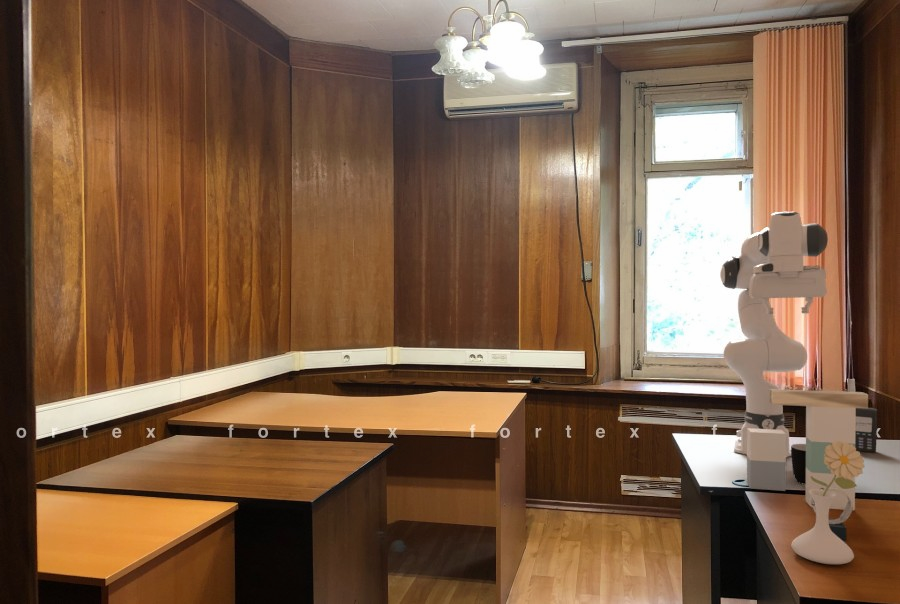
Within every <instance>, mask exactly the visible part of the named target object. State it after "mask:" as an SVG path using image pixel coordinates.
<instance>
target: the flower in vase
mask: <svg viewBox="0 0 900 604" xmlns="http://www.w3.org/2000/svg"><path fill="white" fill-rule="evenodd" d="M825 452H826V454H824V457H825V458H824V459H825V460H824V463H825V464H826V465H827V467H828V469H831V473H832V474H835V475H834V478H833V480H832V481H831V482H830V484H829V485H827V484H826V483H824V482H821V481H819V480H817V479H815V478H813V477H812V476H811V479H812V480H813V481H814V482H816V483H819V484H821V485H823V486H826V487H827V488H826V490H821V489H812V490H809V493H810V494H811V496H812V497H813V500H814V503H815V507H816V513H815V525H814V526H813V527H812V528H811V529H809V530H807V531H806V532H803V533H801V534H800V535H798V536H796V537H795V538H793V540H792V542H791V547H790V548H792V550H793V551H794V552H795V554H797V555H799V556H800V557H802V558H804V559H807V560H809V561H812V562H814V563H815V562H816V563H818V564H819V563H820V564H825V565H843V564H845V565H846V564H848V563H850V562H851V561H852V560H853V559H854V558H855V554H854V552H853V550H852V549H851V547H849V545H848V544H847V543H846V542H845V541H842V540H841V539H840V538H839V537H837V536H836V535H835V534H834V533H833V532H832V531H831V530H830V527H829V523H828V518H829V515H830V514H829V513H830V509H829V508H830V504H831V502H832V500H833V499H834V498H835V497H836V494H835V493H833V492H831V491H827V490H828V489H829V487H830V486H831V484H832V483H833V482H834V480H835V482H836V483H837V485H839V486H840V487H841V488H843V489H849V488H853V487H855V488H856V487H857V486H858V485H857V484H856V482H855V483H854V482H853V481H852V480H851V479H853V478H854V476H855V478H857V477H859V476H860V475H863V473H864V471H863V469H864V468H865V464H864V462H865V460H864V457H863V456H862V455H861V453H860V452H861V451H856V448H855V447H854V446H853V445H852V444H850V445H849V444H848V443H847V442H844V443H843V442H841V441H839V440H838V441H837V442H833V443H832V446H831V445H828V446H826V449H825ZM836 475H837V476H839V477H838V478H836ZM853 475H854V476H853ZM835 478H836V479H835Z"/></svg>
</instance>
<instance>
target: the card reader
mask: <svg viewBox="0 0 900 604" xmlns="http://www.w3.org/2000/svg"><path fill="white" fill-rule="evenodd" d="M877 422H878V409H877V408H874V407H868V408H856V425H855V448H856V451H858V452H861V453H862V452H863V453H872V454H873V453H877V438H878V436H877V435H878V430H877V429H878V427H877V426H878V424H877Z"/></svg>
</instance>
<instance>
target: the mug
mask: <svg viewBox="0 0 900 604" xmlns="http://www.w3.org/2000/svg"><path fill="white" fill-rule="evenodd" d="M790 450H791V456H790V458H791V468H792V473H793V477H794V480H795V481H796V482H797V483H799V482H800V484H802V483H803V485H806V443H794V444H792V445H791V447H790Z"/></svg>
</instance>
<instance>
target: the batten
mask: <svg viewBox="0 0 900 604" xmlns="http://www.w3.org/2000/svg"><path fill="white" fill-rule="evenodd" d="M770 403H771V404H772V405H783V406H797V407H799V406H800V407H806V406H820V407H846V408H869V394H867V392H866V393H865V392H861V391H835V390H833V391H832V390H830V391H829V390H804V389H803V390H801V389H781V390H775V389H770Z"/></svg>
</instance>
